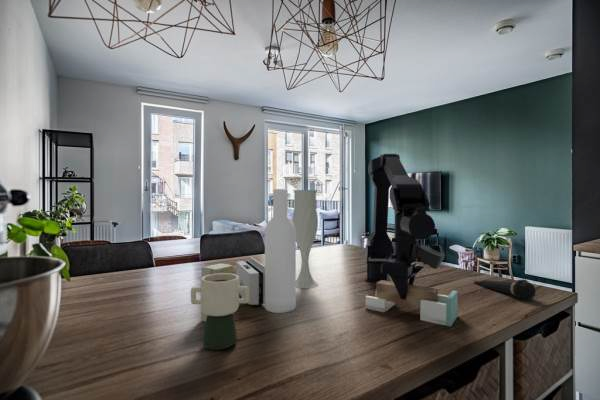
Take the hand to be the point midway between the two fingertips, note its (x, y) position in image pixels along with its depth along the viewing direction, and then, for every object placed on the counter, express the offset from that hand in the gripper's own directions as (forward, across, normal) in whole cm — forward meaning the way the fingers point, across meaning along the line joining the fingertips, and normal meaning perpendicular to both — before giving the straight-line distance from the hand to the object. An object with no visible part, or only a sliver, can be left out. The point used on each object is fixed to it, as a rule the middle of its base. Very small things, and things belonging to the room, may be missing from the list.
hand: (405, 297), depth 83 cm
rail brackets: (+4, 0, 0) cm, 4 cm away
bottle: (+4, -16, +27) cm, 31 cm away
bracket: (+4, -15, +38) cm, 41 cm away
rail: (+1, 0, 0) cm, 1 cm away
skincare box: (+4, -30, +34) cm, 45 cm away
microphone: (+4, +34, -18) cm, 38 cm away
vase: (+4, +6, +34) cm, 35 cm away
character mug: (+4, -39, +23) cm, 45 cm away
